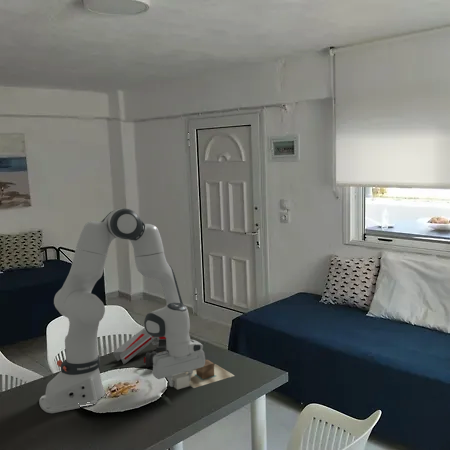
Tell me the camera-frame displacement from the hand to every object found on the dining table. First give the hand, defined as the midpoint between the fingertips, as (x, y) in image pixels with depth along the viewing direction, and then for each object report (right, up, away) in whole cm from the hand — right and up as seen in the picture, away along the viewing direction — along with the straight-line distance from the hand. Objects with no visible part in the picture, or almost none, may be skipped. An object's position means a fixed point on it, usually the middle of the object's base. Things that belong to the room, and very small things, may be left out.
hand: (180, 383), depth 190 cm
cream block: (0, -2, 0) cm, 2 cm away
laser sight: (-5, 0, +21) cm, 22 cm away
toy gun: (-17, +2, +35) cm, 39 cm away
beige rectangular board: (+9, 0, +8) cm, 12 cm away
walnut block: (+9, +1, +8) cm, 12 cm away
